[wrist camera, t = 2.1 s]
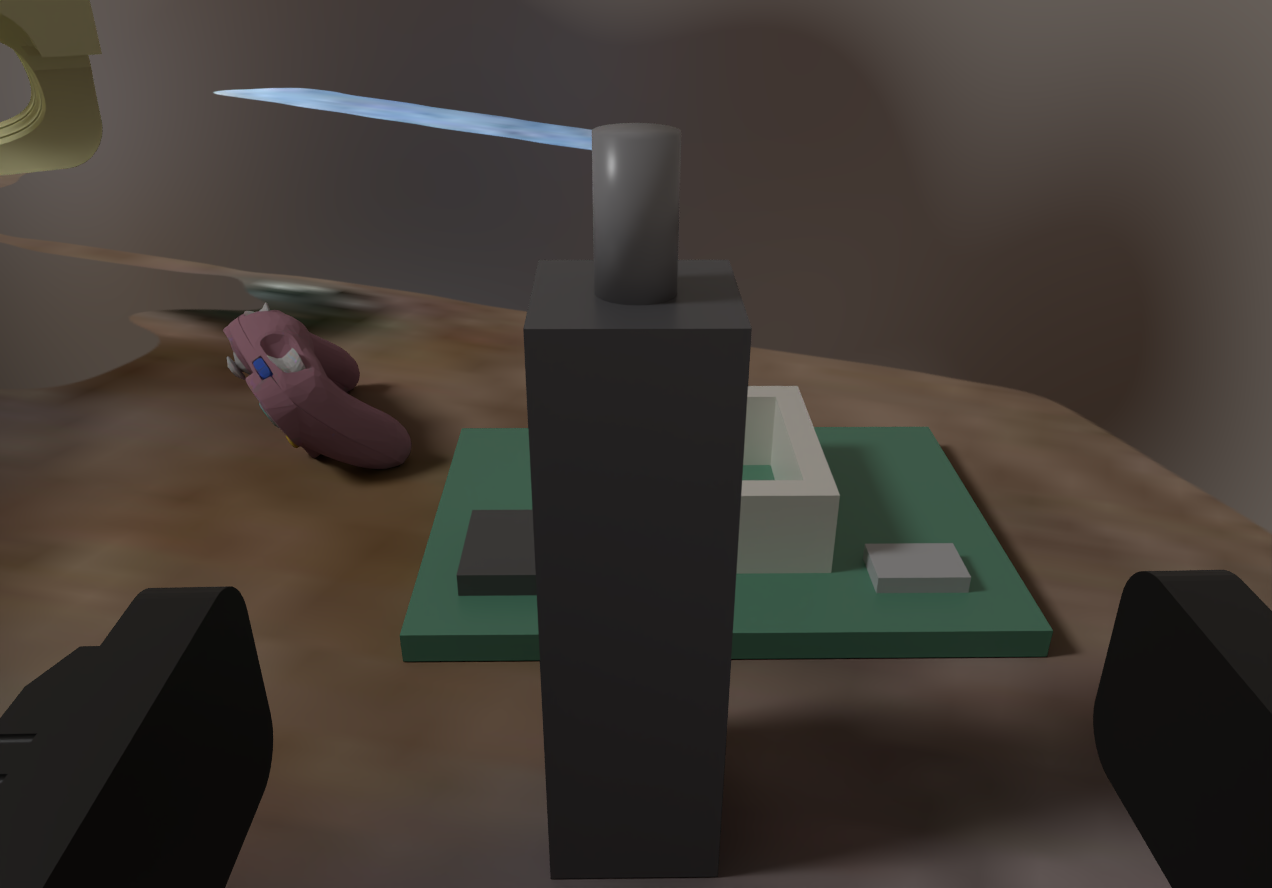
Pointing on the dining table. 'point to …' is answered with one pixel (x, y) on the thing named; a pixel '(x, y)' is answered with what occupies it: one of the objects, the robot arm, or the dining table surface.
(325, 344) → the video game controller
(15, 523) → the dining table surface
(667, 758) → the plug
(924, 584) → the circuit board
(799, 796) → the dining table surface
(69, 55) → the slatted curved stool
